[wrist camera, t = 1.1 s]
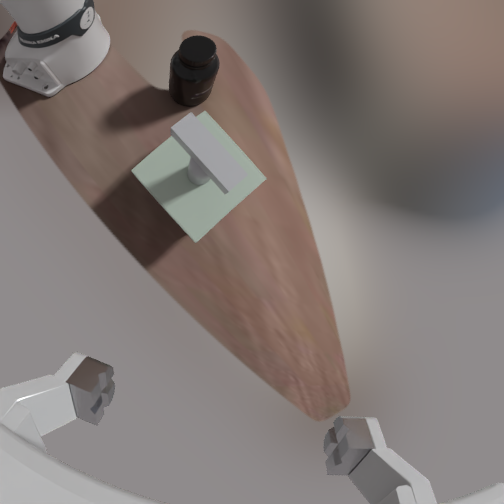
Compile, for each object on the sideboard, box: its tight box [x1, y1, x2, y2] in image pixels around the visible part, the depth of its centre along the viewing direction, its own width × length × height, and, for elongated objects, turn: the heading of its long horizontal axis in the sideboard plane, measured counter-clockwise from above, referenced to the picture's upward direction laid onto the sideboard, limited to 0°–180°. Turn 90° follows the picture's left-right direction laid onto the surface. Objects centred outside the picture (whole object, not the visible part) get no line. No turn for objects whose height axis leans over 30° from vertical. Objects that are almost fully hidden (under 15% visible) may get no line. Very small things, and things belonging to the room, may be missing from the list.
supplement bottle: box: [169, 36, 219, 106], centre depth 36 cm, size 7×7×12 cm
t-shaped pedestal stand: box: [131, 111, 267, 243], centre depth 32 cm, size 12×12×13 cm
